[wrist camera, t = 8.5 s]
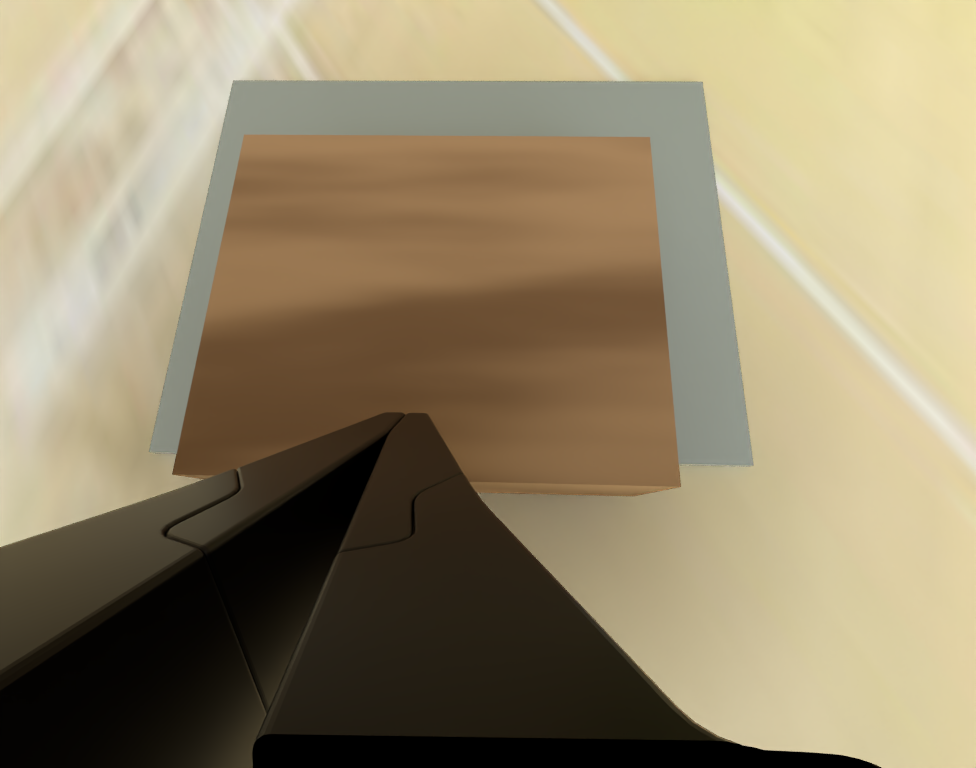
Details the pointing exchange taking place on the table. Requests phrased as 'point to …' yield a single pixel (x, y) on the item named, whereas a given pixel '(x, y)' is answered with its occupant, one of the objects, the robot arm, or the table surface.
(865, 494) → the table surface
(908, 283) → the table surface
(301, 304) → the walnut block
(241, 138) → the mat
